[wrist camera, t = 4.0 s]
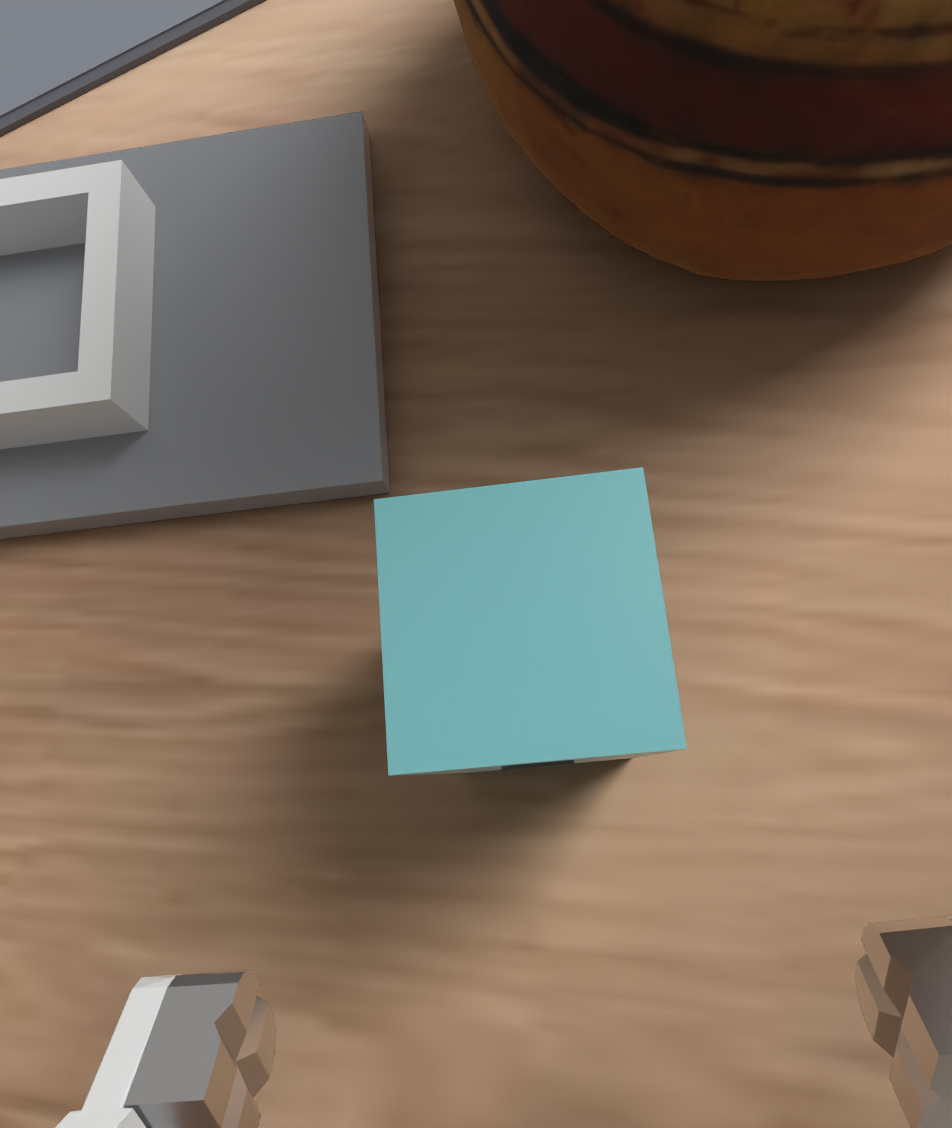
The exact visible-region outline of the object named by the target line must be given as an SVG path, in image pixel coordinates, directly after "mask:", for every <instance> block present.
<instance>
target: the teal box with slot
mask: <svg viewBox="0 0 952 1128" xmlns="http://www.w3.org/2000/svg"><path fill="white" fill-rule="evenodd" d="M374 512H375V531H376V550H377V569H378V588H379V607H380V626H381V645H382V664H383V683H384V702H385V721H386V740H387V759H388V775H423V774H459V773H472V772H483V771H494V770H502V771H506V770H517V769H528V768H540V767H551V766H562V765H573V764H574V763H584V762H595V761H606V760H618V759H629V758H636V757H642V756H648V755H653V754H659V753H665V752H671V751H676V750H682V749H687V747H686V740H685V734H684V727H683V721H682V714H681V708H680V701H679V695H678V689H677V682H676V676H675V669H674V663H673V656H672V650H671V643H670V637H669V631H668V624H667V618H666V611H665V605H664V598H663V592H662V585H661V579H660V573H659V566H658V560H657V553H656V547H655V540H654V534H653V527H652V521H651V514H650V508H649V502H648V495H647V489H646V482H645V476H644V469H643V467H641V468H632V469H624V470H616V471H607V472H599V473H590V474H582V475H574V476H565V477H557V478H548V479H540V480H532V481H523V482H515V483H507V484H498V485H490V486H481V487H473V488H465V489H456V490H448V491H439V492H431V493H423V494H414V495H406V496H397V497H389V498H381V499H374Z"/></svg>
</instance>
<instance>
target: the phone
mask: <svg viewBox="0 0 952 1128" xmlns="http://www.w3.org/2000/svg"><path fill="white" fill-rule="evenodd" d="M264 1H266V0H0V137H1V136H3V135H5V134H7V133H9V132H11V131H13V130H15V129H17V128H19V127H20V126H22V125H24V124H26V123H28V122H30V121H32V120H34V119H36V118H38V117H40V116H42V115H44V114H46V113H48V112H50V111H52V110H54V109H55V108H57V107H59V106H61V105H63V104H65V103H67V102H69V101H71V100H73V99H75V98H77V97H79V96H81V95H83V94H85V93H87V92H89V91H91V90H92V89H94V88H96V87H98V86H100V85H102V84H104V83H106V82H108V81H110V80H112V79H114V78H116V77H118V76H120V75H122V74H124V73H126V72H127V71H129V70H131V69H133V68H135V67H137V66H139V65H141V64H143V63H145V62H147V61H149V60H151V59H153V58H155V57H157V56H159V55H161V54H163V53H164V52H166V51H168V50H170V49H172V48H174V47H176V46H178V45H180V44H182V43H184V42H186V41H188V40H190V39H192V38H194V37H196V36H198V35H199V34H201V33H203V32H205V31H207V30H209V29H211V28H213V27H215V26H217V25H219V24H221V23H223V22H225V21H227V20H229V19H231V18H233V17H235V16H236V15H238V14H240V13H242V12H244V11H246V10H248V9H250V8H252V7H254V6H256V5H258V4H260V3H262V2H264Z"/></svg>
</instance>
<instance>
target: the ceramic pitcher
mask: <svg viewBox="0 0 952 1128" xmlns="http://www.w3.org/2000/svg"><path fill="white" fill-rule="evenodd" d="M454 3H455V6H456V9H457V12H458V16H459V19H460V22H461V25H462V29H463V32H464V35H465V39H466V42H467V45H468V48H469V52H470V55H471V58H472V61H473V64H474V67H475V70H476V72H477V75H478V77H479V80H480V82H481V84H482V86H483V88H484V90H485V92H486V94H487V96H488V97H489V99H490V101H491V103H492V105H493V107H494V109H495V111H496V112H497V114H498V116H499V118H500V120H501V122H502V123H503V125H504V126H505V127H506V129H507V130H508V131H509V133H510V134H511V136H512V137H513V138H514V140H515V141H516V142H517V144H518V145H519V146H520V148H521V149H522V150H523V152H524V153H525V154H526V156H527V157H528V158H529V160H530V161H531V163H532V164H533V165H534V166H535V167H536V168H537V169H538V170H539V171H540V172H541V173H542V174H543V175H544V176H545V177H546V178H547V179H548V180H549V181H550V183H551V184H552V185H553V186H554V187H555V188H556V189H557V190H558V191H559V192H560V193H561V194H563V195H564V196H565V197H566V198H567V199H568V200H569V201H571V202H572V203H573V204H574V205H575V206H576V207H577V208H579V209H580V210H581V211H582V212H583V213H584V214H585V215H587V216H588V217H589V218H591V219H592V220H593V221H595V222H596V223H598V224H599V225H600V226H602V227H603V228H604V229H606V230H607V231H608V232H610V233H611V234H612V235H614V236H615V237H617V238H618V239H619V240H621V241H623V242H624V243H626V244H628V245H630V246H632V247H634V248H636V249H638V250H640V251H642V252H644V253H646V254H649V255H651V256H653V257H655V258H657V259H659V260H662V261H665V262H667V263H670V264H673V265H676V266H679V267H681V268H684V269H686V270H688V271H691V272H693V273H695V274H698V275H703V276H710V277H717V278H724V279H731V280H744V281H787V280H802V279H816V278H827V277H832V276H837V275H842V274H847V273H852V272H857V271H862V270H867V269H872V268H878V267H883V266H888V265H893V264H898V263H902V262H905V261H908V260H912V259H915V258H918V257H921V256H925V255H928V254H931V253H934V252H936V251H938V250H940V249H942V248H944V247H946V246H948V245H951V244H952V0H454Z"/></svg>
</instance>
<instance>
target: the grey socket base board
mask: <svg viewBox="0 0 952 1128" xmlns="http://www.w3.org/2000/svg"><path fill="white" fill-rule="evenodd" d="M383 493H390V481H389V464H388V447H387V430H386V413H385V396H384V379H383V362H382V345H381V328H380V310H379V293H378V276H377V259H376V242H375V225H374V208H373V191H372V174H371V157H370V140H369V133H368V130H367V127H366V123H365V120H364V117H363V113H362V112H356V113H349V114H343V115H337V116H331V117H325V118H318V119H312V120H306V121H300V122H294V123H287V124H281V125H275V126H269V127H262V128H256V129H250V130H244V131H238V132H231V133H225V134H219V135H213V136H206V137H200V138H194V139H188V140H182V141H175V142H169V143H163V144H157V145H151V146H144V147H138V148H132V149H126V150H119V151H113V152H107V153H101V154H95V155H88V156H82V157H76V158H70V159H64V160H57V161H51V162H45V163H39V164H32V165H26V166H20V167H14V168H8V169H1V170H0V539H8V538H16V537H24V536H33V535H41V534H49V533H58V532H66V531H74V530H83V529H91V528H99V527H108V526H116V525H124V524H133V523H141V522H150V521H158V520H166V519H175V518H183V517H191V516H200V515H208V514H216V513H225V512H233V511H241V510H250V509H258V508H266V507H275V506H283V505H292V504H300V503H308V502H317V501H325V500H333V499H342V498H350V497H358V496H367V495H375V494H383Z"/></svg>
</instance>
